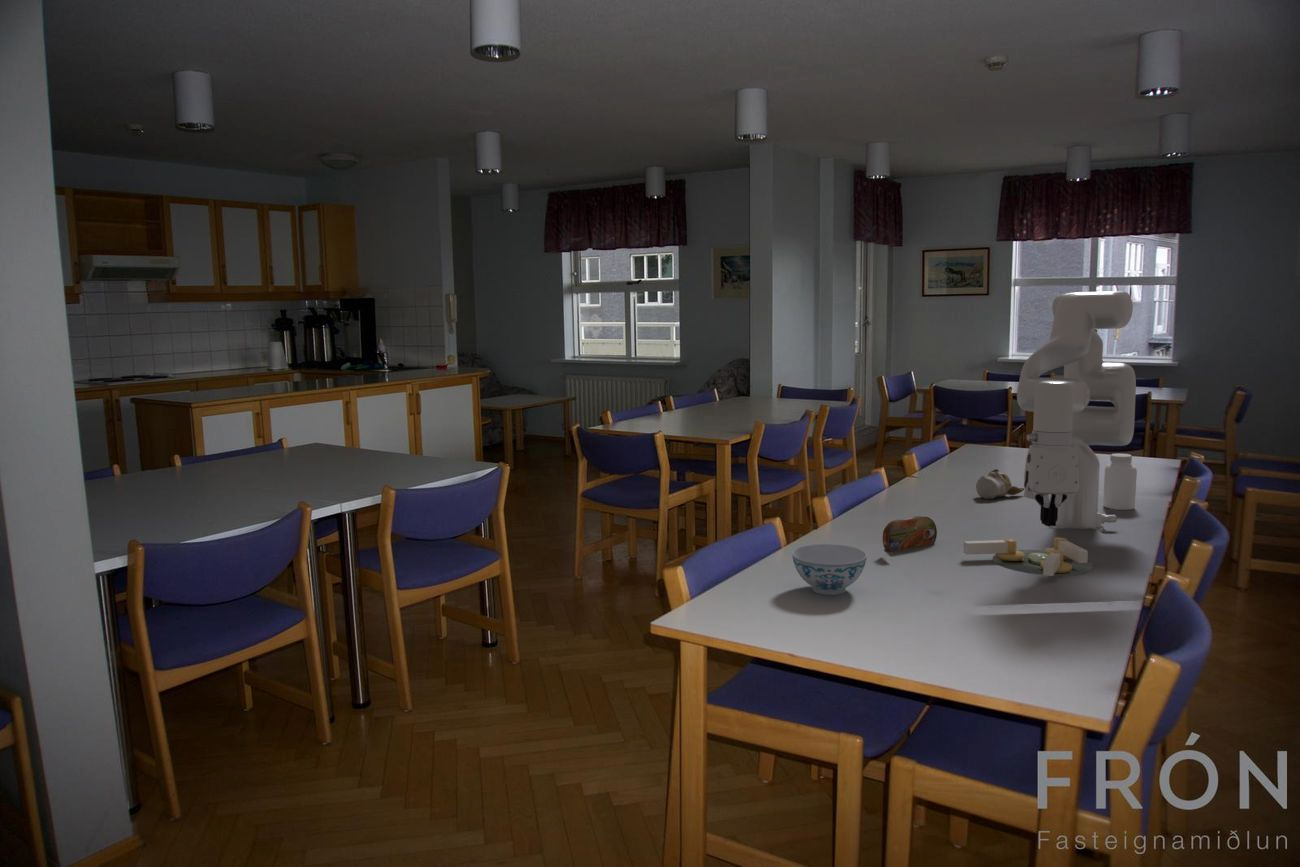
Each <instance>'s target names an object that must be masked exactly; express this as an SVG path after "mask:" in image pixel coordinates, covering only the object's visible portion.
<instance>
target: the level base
mask: <svg viewBox="0 0 1300 867" xmlns="http://www.w3.org/2000/svg"><path fill="white" fill-rule="evenodd" d="M1017 550H1018V551H1021V552H1023V553H1024V554H1025V555H1024V560H1020V561H1007V560H1001V559H998V558H996V557H995V554H994V555H993V556H992V560H993V562H994V564H996V565H998V566H1000V567H1002V568H1005V569H1009V570H1012V571H1014V572H1015V571H1016V572H1021V573H1024V574H1025V573H1026V574H1032V575H1040V576H1044V575H1043V570H1042V569H1041V568H1040V567H1041V562H1042V561H1045V560H1046V559H1047V558H1048V556H1049V555H1050V554H1045V550H1044V549H1043V550H1042V549H1017ZM1063 562H1067V563H1069V564H1071V565H1072V571H1071V572H1068V573H1055V574H1054V575H1053V576H1073V575H1075V576H1076V575H1080V574H1081V575H1082V574H1085V573H1087V572H1090V571H1092V569H1093V564H1092V563H1091V562H1090V561H1089V560H1087V563H1078V562H1076V561H1074V560H1072V559H1063Z"/></svg>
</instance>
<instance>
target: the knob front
mask: <svg viewBox="0 0 1300 867" xmlns="http://www.w3.org/2000/svg"><path fill="white" fill-rule="evenodd" d="M1040 568H1041V569H1042V570H1043V575H1042V576H1046V577H1047V576H1048V577H1054V576H1055V575H1054V574H1055V573H1068V572H1071V571H1072V565H1071V564H1069V563H1067V562H1063V551H1061V550H1050V555H1049V556H1048V558H1047V559H1046V560H1045V561H1042V562H1041V567H1040Z"/></svg>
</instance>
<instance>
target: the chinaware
mask: <svg viewBox="0 0 1300 867" xmlns="http://www.w3.org/2000/svg"><path fill="white" fill-rule="evenodd" d="M791 556H792V560H793V564H794V567H795V569H796V571H797V573H798V575H799V576H800V577H801V579H802V580H803V581H804V582H805V583H806V584H808V585H809V586H811V587H812V588H811V589H812V591H813V592H814V593H816V594H819V595H826V596H836V595H842V594H844V593H845V592H846V589H847V588H848V587H849V586H851V585H853V584H854V583H855V582H856V581H857V580H858V579H859V577H860V576H861V574H862V572H863V570H864V568H865V565H866V561H867V559H868V558H867V557H868V555H867V553H866V552H865V551H864V550H862V549H860V548H857V547H854V546H849V545H843V544H836V543H834V544H832V543H830V544H829V543H820V544H819V543H817V544H807V545H802V546H799V547H797V548H794V550H792V551H791Z"/></svg>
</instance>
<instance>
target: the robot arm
mask: <svg viewBox="0 0 1300 867" xmlns="http://www.w3.org/2000/svg"><path fill="white" fill-rule="evenodd" d="M1133 306H1134V305H1133V300H1132V297H1131V295H1130V294H1129V292H1127V291H1123V290H1122V291H1121V290H1120V291H1119V290H1118V291H1117V290H1116V291H1115V290H1114V291H1112V290H1111V291H1078V292H1068V293H1063V294H1062V293H1061V294H1059V295H1058V296H1056V297H1055V298H1053V300H1052V305H1051V309H1052V316H1053V321H1052V322H1053V323H1052V327H1051V332H1050V335H1049V340H1048V342H1046V343H1045V344H1043V345H1042V346H1041V347H1039V348H1037V349H1036V350H1035V351H1034V352H1033V353H1032V354H1030V356H1029V357H1028V358H1027V359H1026V361H1025V362H1024V364H1023V366H1022V368H1021V372H1020V375H1019V381H1018V385H1017V390H1016V399H1017V400H1016V401H1017V404H1018V406H1019V407H1020V409H1022V410H1023V411H1025V412H1026V411H1027V412H1033V423H1032V424H1033V425H1032V426H1033V428H1032V431H1031V433H1030V434H1029V433H1028V434H1027V435H1026V440H1027V441H1028V442H1029V441H1030V442H1031V443H1032V444H1030V445H1029V447H1028V450H1027V454H1026V460H1025V464H1024V473H1023V474H1024V475H1023V487H1024V492H1023V497H1025V498H1027V499H1031V500H1035V501H1036V503H1037V504H1038V505H1039V506H1040V515H1039V519H1040V521H1041V525H1044V526H1046V527H1048V528H1049V530H1054V529H1078V530H1083V529H1085V530H1087V529H1091V530H1094V531H1096V532H1099V533H1104V531H1105V528H1104V526H1103V525H1104V524H1105V523H1110V524H1111V523H1117V520H1118V518H1117V516H1116V514H1107V515H1106V514H1105V513H1102V512H1099V511H1098V509H1099V487H1100V483H1099V482H1100V468H1101V466H1100V465H1101V464H1100V460H1099V457H1098V456H1097V454H1096V453H1095V452H1094V451H1093V449H1092V448H1091V447H1090V446H1111V447H1118V446H1119V447H1122V446H1123V447H1124V446H1127V445H1129V444H1130V443H1131V442H1132V439H1133V437H1134V432H1135V418H1136V417H1135V416H1136V414H1135V413H1136V393H1137V392H1136V391H1137V384H1136V383H1137V382H1136V381H1137V380H1136V374H1135V373H1136V372H1135V370H1134V368H1133V367H1132V366H1131V365H1130V364H1128V363H1123V362H1105V361H1103V354H1104V342H1103V340H1102V337H1101V336H1100V335H1099V333H1098V332H1097V331H1096V330H1109V329H1110V330H1111V329H1112V330H1115V329H1117V330H1118V329H1123V328H1125V327H1126V326H1127V325H1129V323H1130V321H1131V318H1132V316H1133V309H1134V308H1133ZM1061 367H1063V377H1041V375H1043V374H1045V373H1047V372H1049V371H1052V370H1055V369H1057V368H1061ZM1090 402H1109V403H1112V404H1113V405H1114V406H1096V405H1089V404H1090Z"/></svg>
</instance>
